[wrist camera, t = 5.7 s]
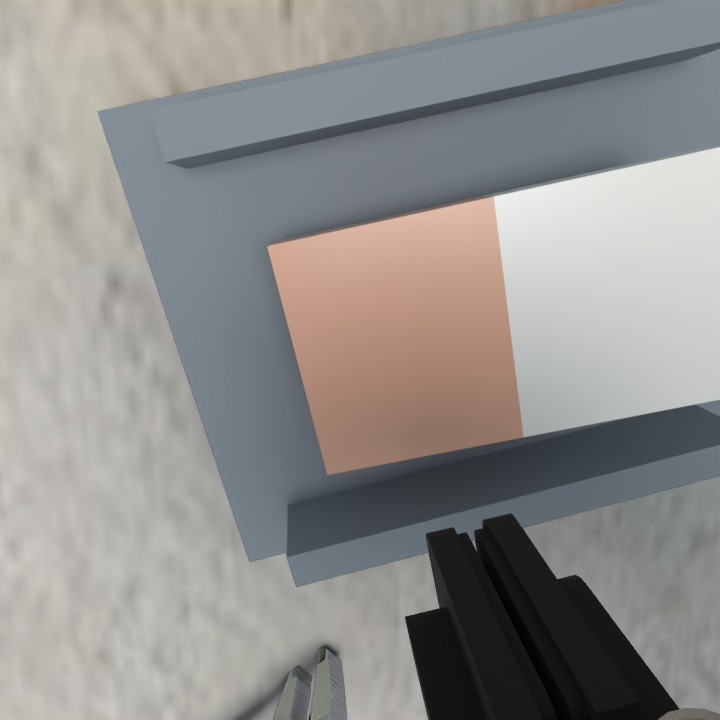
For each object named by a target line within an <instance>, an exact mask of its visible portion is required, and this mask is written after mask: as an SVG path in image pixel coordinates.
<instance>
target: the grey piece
mask: <svg viewBox="0 0 720 720" xmlns="http://www.w3.org/2000/svg"><path fill="white" fill-rule="evenodd" d="M97 112H98V115H99V118H100V121H101V124H102V127H103V130H104V133H105V136H106V139H107V142H108V145H109V147H110V150H111V153H112V156H113V159H114V162H115V165H116V168H117V171H118V174H119V177H120V180H121V183H122V186H123V189H124V192H125V195H126V198H127V201H128V204H129V207H130V210H131V213H132V216H133V219H134V222H135V225H136V227H137V230H138V233H139V236H140V239H141V242H142V245H143V248H144V251H145V254H146V257H147V260H148V263H149V266H150V269H151V272H152V275H153V278H154V281H155V284H156V287H157V290H158V293H159V296H160V299H161V302H162V305H163V307H164V310H165V313H166V316H167V319H168V322H169V325H170V328H171V331H172V334H173V337H174V340H175V343H176V346H177V349H178V352H179V355H180V358H181V361H182V364H183V367H184V370H185V373H186V376H187V379H188V382H189V384H190V387H191V390H192V393H193V396H194V399H195V402H196V405H197V408H198V411H199V414H200V417H201V420H202V423H203V426H204V429H205V432H206V435H207V438H208V441H209V444H210V447H211V450H212V453H213V456H214V459H215V462H216V464H217V467H218V470H219V473H220V476H221V479H222V482H223V485H224V488H225V491H226V494H227V497H228V500H229V503H230V506H231V509H232V512H233V515H234V518H235V521H236V524H237V527H238V530H239V533H240V536H241V539H242V542H243V544H244V547H245V550H246V553H247V556H248V559H249V562H252V561H256V560H260V559H264V558H268V557H271V556H275V555H279V554H283V553H287V560H288V563H289V566H290V569H291V573H292V576H293V579H294V582H295V586H296V587H299V586H303V585H307V584H311V583H314V582H318V581H322V580H326V579H330V578H333V577H337V576H341V575H345V574H349V573H352V572H356V571H360V570H364V569H368V568H371V567H375V566H379V565H383V564H387V563H390V562H394V561H398V560H402V559H406V558H409V557H413V556H417V555H421V554H425V553H428V546H427V541H426V533H430V532H434V531H438V530H443V529H447V528H451V527H454V529H455V530H456V532H457V534H460V533H464V532H467V534H468V535H469V537H470V539H471V541H474V540H475V536H474V531H475V530H477V529H481V528H483V526H482V521H483V520H484V519H488V518H492V517H497V516H501V515H505V514H509V513H511V514H513V515H514V517H515V518H516V519H517V521H518V522H519V524H520V525H521V527H522V528H523V527H527V526H531V525H535V524H539V523H542V522H546V521H550V520H554V519H558V518H561V517H565V516H569V515H573V514H577V513H580V512H584V511H588V510H592V509H596V508H599V507H603V506H607V505H611V504H615V503H618V502H622V501H626V500H630V499H634V498H637V497H641V496H645V495H649V494H653V493H656V492H660V491H664V490H668V489H672V488H675V487H679V486H683V485H687V484H691V483H694V482H698V481H702V480H706V479H710V478H714V477H717V476H720V400H716V401H710V402H705V403H700V404H695V405H690V406H684V407H679V408H674V409H669V410H664V411H658V412H653V413H648V414H643V415H637V416H632V417H627V418H622V419H617V420H611V421H606V422H601V423H596V424H591V425H585V426H580V427H575V428H570V429H565V430H559V431H554V432H549V433H544V434H538V435H533V436H528V437H523V438H518V439H512V440H507V441H502V442H497V443H492V444H486V445H481V446H476V447H471V448H465V449H460V450H455V451H450V452H445V453H439V454H434V455H429V456H424V457H419V458H413V459H408V460H403V461H398V462H393V463H387V464H382V465H377V466H372V467H366V468H361V469H356V470H351V471H346V472H340V473H335V474H330V475H327V472H326V468H325V464H324V460H323V457H322V453H321V449H320V445H319V441H318V438H317V434H316V430H315V426H314V423H313V419H312V415H311V411H310V407H309V404H308V400H307V396H306V392H305V388H304V385H303V381H302V377H301V373H300V369H299V366H298V362H297V358H296V354H295V350H294V347H293V343H292V339H291V335H290V331H289V328H288V324H287V320H286V316H285V312H284V309H283V305H282V301H281V297H280V293H279V290H278V286H277V282H276V278H275V274H274V271H273V267H272V263H271V259H270V256H269V252H268V248H267V246H268V245H269V244H271V243H272V242H274V241H278V240H283V239H287V238H292V237H297V236H301V235H306V234H310V233H315V232H319V231H324V230H328V229H333V228H338V227H342V226H347V225H351V224H356V223H360V222H365V221H370V220H374V219H379V218H383V217H388V216H392V215H397V214H402V213H406V212H411V211H415V210H420V209H424V208H429V207H434V206H438V205H443V204H447V203H452V202H456V201H461V200H466V199H470V198H475V197H479V196H484V195H488V194H493V193H497V192H502V191H507V190H511V189H516V188H520V187H525V186H529V185H534V184H539V183H543V182H548V181H552V180H557V179H561V178H566V177H571V176H575V175H580V174H584V173H589V172H593V171H598V170H603V169H607V168H612V167H616V166H621V165H625V164H630V163H635V162H639V161H644V160H648V159H653V158H657V157H662V156H666V155H671V154H676V153H680V152H685V151H689V150H694V149H698V148H704V147H714V146H720V0H625V1H620V2H615V3H610V4H606V5H601V6H596V7H591V8H587V9H582V10H577V11H572V12H568V13H563V14H558V15H553V16H549V17H544V18H539V19H534V20H530V21H525V22H520V23H515V24H510V25H506V26H501V27H496V28H491V29H487V30H482V31H477V32H472V33H468V34H463V35H458V36H453V37H449V38H444V39H439V40H434V41H430V42H425V43H420V44H415V45H411V46H406V47H401V48H396V49H391V50H387V51H382V52H377V53H372V54H368V55H363V56H358V57H353V58H349V59H344V60H339V61H334V62H330V63H325V64H320V65H315V66H311V67H306V68H301V69H296V70H291V71H287V72H282V73H277V74H272V75H268V76H263V77H258V78H253V79H249V80H244V81H239V82H234V83H230V84H225V85H220V86H215V87H211V88H206V89H201V90H196V91H191V92H187V93H182V94H177V95H172V96H168V97H163V98H158V99H153V100H149V101H144V102H139V103H134V104H130V105H125V106H120V107H115V108H111V109H106V110H101V111H97Z"/></svg>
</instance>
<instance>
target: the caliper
mask: <svg viewBox="0 0 720 720" xmlns="http://www.w3.org/2000/svg"><path fill="white" fill-rule="evenodd" d="M311 681H312V676H311V675H310V674H309V673H308V672H306V671H305V670H304V669H303V668H301V667H300V666H299V665H298V666H296V667H295V668H294V669H293V670H291V671H290V673H289V675H288V678H287V681H286V684H285V686H284V689H283V692H282V695H281V698H280V700H279V703H278V706H277V709H276V711H275V714H274V717H273V720H307V716H308V709H309V703H310V696H311V689H310V687H311ZM308 720H347V707H346V697H345V687H344V677H343V669H342V662H341V660H340V659H339V658H337V657H336V656H335V655H334V654H333V653H331V652H330V651H329V650H328V649H326V648H321V649H319V655H318V662H317V669H316V675H315V682H314V688H313V694H312V700H311V706H310V712H309V719H308Z"/></svg>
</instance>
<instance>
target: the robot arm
mask: <svg viewBox="0 0 720 720" xmlns="http://www.w3.org/2000/svg"><path fill="white" fill-rule="evenodd" d="M482 526H483V528H481V529H477V530H475V531H474V536H475V542H476V549H477V551H476V549H475V547H474V545H473V543H472V541H471V539H470V537H469V535H468V534H467V532H464V533H460V534H457V532H456V530H455V529H454V527H451V528H447V529H443V530H438V531H434V532H430V533H426V541H427V546H428V552H429V557H430V562H431V567H432V572H433V577H434V582H435V587H436V592H437V597H438V602H439V607H440V608H439V609H435V610H431V611H427V612H423V613H419V614H415V615H410V616H406V617H405V620H406V624H407V629H408V634H409V638H410V643H411V647H412V651H413V656H414V660H415V665H416V669H417V673H418V678H419V682H420V686H421V690H422V695H423V699H424V703H425V707H426V711H427V715H428V720H720V714H719V713H716V712H712V711H709V710H705V709H692V708H683V709H679V708H678V706H677V705H676V704H675V702H674V701H673V700H672V698H671V697H670V696H669V694H668V693H667V692H666V690H665V689H664V688H663V686H662V685H661V684H660V682H659V681H658V680H657V678H656V677H655V676H654V674H653V673H652V672H651V670H650V669H649V668H648V666H647V665H646V664H645V662H644V661H643V660H642V658H641V657H640V656H639V654H638V653H637V652H636V650H635V649H634V647H633V646H632V645H631V643H630V642H629V641H628V639H627V638H626V637H625V635H624V634H623V633H622V631H621V630H620V629H619V627H618V626H617V625H616V623H615V622H614V621H613V619H612V618H611V617H610V615H609V614H608V613H607V611H606V610H605V609H604V607H603V606H602V605H601V603H600V602H599V601H598V599H597V598H596V597H595V595H594V594H593V593H592V591H591V590H590V589H589V587H588V586H587V585H586V583H585V582H584V581H583V580H582V579H581V578H580V577H579V576H577V575H573V576H569V577H565V578H561V579H557V578H556V577H555V575H554V574H553V573H552V571H551V570H550V568H549V567H548V565H547V564H546V562H545V561H544V559H543V558H542V556H541V555H540V553H539V552H538V550H537V549H536V547H535V546H534V545H533V543H532V542H531V540H530V539H529V537H528V536H527V534H526V533H525V531H524V530H523V528H522V527H521V525H520V524H519V522H518V521H517V519H516V518H515V517H514V515H513V514H511V513H509V514H505V515H501V516H497V517H492V518H488V519H484V520H483V521H482Z"/></svg>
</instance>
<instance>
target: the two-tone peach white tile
mask: <svg viewBox="0 0 720 720" xmlns="http://www.w3.org/2000/svg"><path fill="white" fill-rule="evenodd" d="M267 248H268V252H269V256H270V259H271V263H272V267H273V271H274V274H275V278H276V282H277V286H278V290H279V293H280V297H281V301H282V305H283V309H284V312H285V316H286V320H287V324H288V328H289V331H290V335H291V339H292V343H293V347H294V350H295V354H296V358H297V362H298V366H299V369H300V373H301V377H302V381H303V385H304V388H305V392H306V396H307V400H308V404H309V407H310V411H311V415H312V419H313V423H314V426H315V430H316V434H317V438H318V441H319V445H320V449H321V453H322V457H323V460H324V464H325V468H326V472H327V475H330V474H335V473H340V472H346V471H351V470H356V469H361V468H366V467H372V466H377V465H382V464H387V463H393V462H398V461H403V460H408V459H413V458H419V457H424V456H429V455H434V454H439V453H445V452H450V451H455V450H460V449H465V448H471V447H476V446H481V445H486V444H492V443H497V442H502V441H507V440H512V439H518V438H523V437H528V436H533V435H538V434H544V433H549V432H554V431H559V430H565V429H570V428H575V427H580V426H585V425H591V424H596V423H601V422H606V421H611V420H617V419H622V418H627V417H632V416H637V415H643V414H648V413H653V412H658V411H664V410H669V409H674V408H679V407H684V406H690V405H695V404H700V403H705V402H710V401H716V400H720V146H714V147H704V148H698V149H694V150H689V151H685V152H680V153H676V154H671V155H666V156H662V157H657V158H653V159H648V160H644V161H639V162H635V163H630V164H625V165H621V166H616V167H612V168H607V169H603V170H598V171H593V172H589V173H584V174H580V175H575V176H571V177H566V178H561V179H557V180H552V181H548V182H543V183H539V184H534V185H529V186H525V187H520V188H516V189H511V190H507V191H502V192H497V193H493V194H488V195H484V196H479V197H475V198H470V199H466V200H461V201H456V202H452V203H447V204H443V205H438V206H434V207H429V208H424V209H420V210H415V211H411V212H406V213H402V214H397V215H392V216H388V217H383V218H379V219H374V220H370V221H365V222H360V223H356V224H351V225H347V226H342V227H338V228H333V229H328V230H324V231H319V232H315V233H310V234H306V235H301V236H297V237H292V238H287V239H283V240H278V241H274V242H272V243H271V244H269V245H268V246H267Z"/></svg>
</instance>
